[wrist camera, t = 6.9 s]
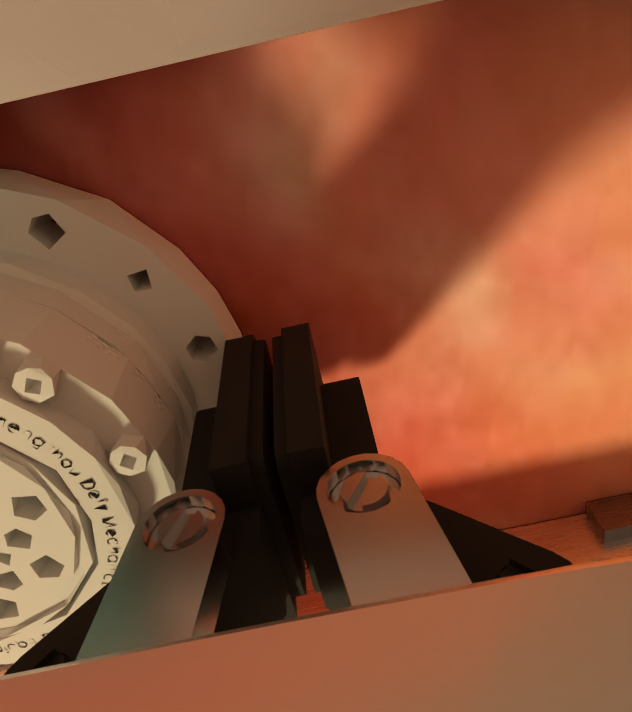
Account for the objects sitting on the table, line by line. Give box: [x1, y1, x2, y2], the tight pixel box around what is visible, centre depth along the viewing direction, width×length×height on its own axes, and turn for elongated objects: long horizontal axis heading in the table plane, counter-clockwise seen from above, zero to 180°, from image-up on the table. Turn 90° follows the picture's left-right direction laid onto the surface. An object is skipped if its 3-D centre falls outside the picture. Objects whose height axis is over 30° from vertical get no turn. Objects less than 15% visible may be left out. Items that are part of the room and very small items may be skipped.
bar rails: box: [0, 0, 632, 676], centre depth 12 cm, size 19×18×3 cm
